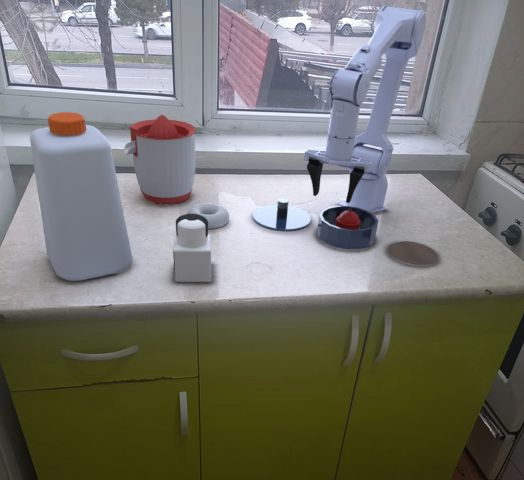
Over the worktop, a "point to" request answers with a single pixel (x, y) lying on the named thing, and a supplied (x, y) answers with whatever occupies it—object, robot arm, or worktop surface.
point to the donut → (211, 214)
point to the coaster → (412, 253)
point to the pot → (347, 236)
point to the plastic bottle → (79, 199)
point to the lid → (281, 217)
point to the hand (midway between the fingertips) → (332, 197)
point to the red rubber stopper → (348, 220)
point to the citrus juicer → (163, 159)
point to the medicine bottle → (192, 249)
